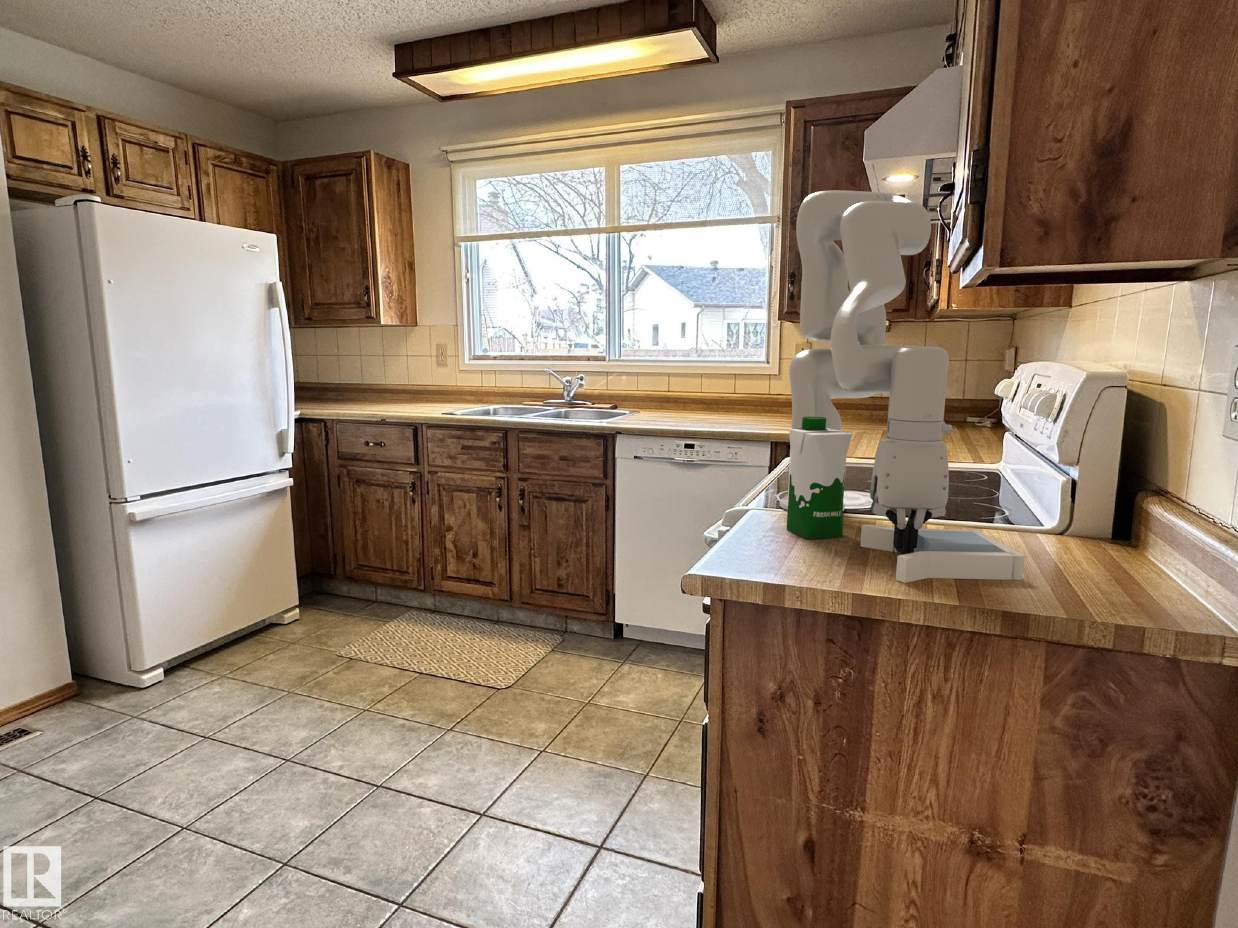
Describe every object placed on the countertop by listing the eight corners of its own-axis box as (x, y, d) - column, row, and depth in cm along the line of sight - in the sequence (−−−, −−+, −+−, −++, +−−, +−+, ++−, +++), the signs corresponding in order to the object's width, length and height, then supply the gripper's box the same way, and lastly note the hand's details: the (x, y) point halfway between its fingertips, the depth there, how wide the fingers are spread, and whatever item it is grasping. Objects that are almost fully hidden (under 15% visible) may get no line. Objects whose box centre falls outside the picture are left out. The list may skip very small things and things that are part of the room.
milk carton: (822, 525, 127) (829, 415, 123) (851, 538, 118) (859, 421, 115) (779, 528, 124) (784, 416, 121) (805, 541, 116) (812, 422, 112)
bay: (857, 544, 114) (859, 523, 114) (968, 546, 114) (970, 525, 113) (899, 582, 96) (901, 558, 95) (1031, 585, 95) (1034, 561, 95)
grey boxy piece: (908, 556, 109) (911, 528, 108) (967, 558, 108) (970, 530, 107) (929, 574, 100) (931, 544, 100) (993, 576, 100) (996, 545, 99)
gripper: (955, 429, 105) (944, 546, 108) (854, 428, 106) (847, 544, 109) (978, 436, 98) (965, 561, 101) (870, 434, 98) (861, 559, 101)
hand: (904, 552), depth 105 cm, fingers closed
